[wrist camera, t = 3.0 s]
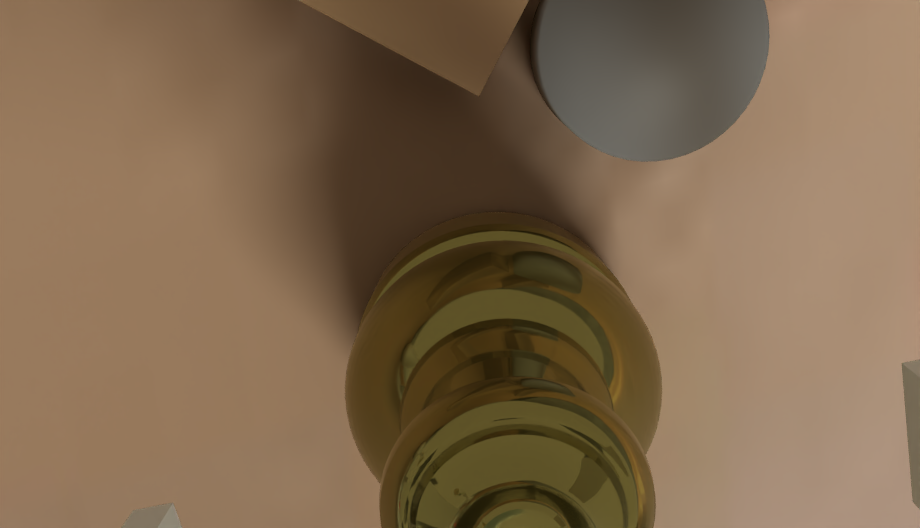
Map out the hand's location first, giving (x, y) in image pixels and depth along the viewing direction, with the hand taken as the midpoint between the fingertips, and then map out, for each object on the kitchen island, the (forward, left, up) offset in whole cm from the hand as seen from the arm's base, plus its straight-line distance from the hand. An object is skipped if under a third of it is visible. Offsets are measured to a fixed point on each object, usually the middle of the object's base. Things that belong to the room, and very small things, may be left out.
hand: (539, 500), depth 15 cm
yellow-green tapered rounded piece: (0, 0, -9) cm, 9 cm away
